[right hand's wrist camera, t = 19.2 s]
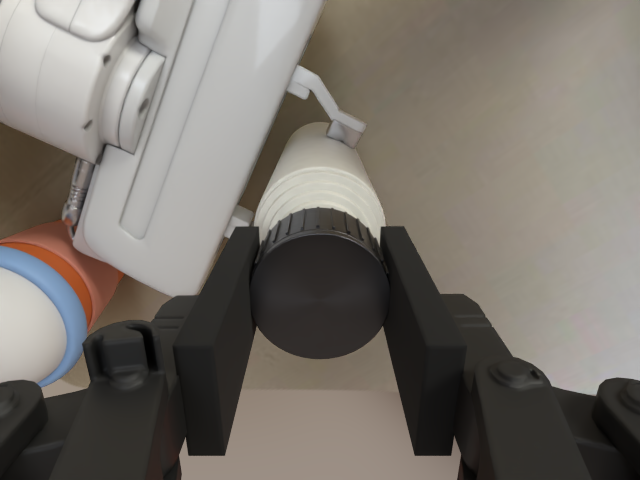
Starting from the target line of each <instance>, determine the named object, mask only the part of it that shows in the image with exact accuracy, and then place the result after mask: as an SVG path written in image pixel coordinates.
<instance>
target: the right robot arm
mask: <svg viewBox="0 0 640 480" xmlns="http://www.w3.org/2000/svg"><path fill="white" fill-rule="evenodd" d="M259 248H260V237H259V226H236V227H235V229H234V231H233V233H232V234H231V236H230V238H229V240H228V242H227V244H226V246H225V248H224V249H223V251H222V253H221V255H220V257H219V259H218V261H217V263H216V264H215V266H214V268H213V270H212V272H211V274H210V276H209V278H208V279H207V281H206V283H205V285H204V287H203V289H202V291H201V293H200V294H199V295H177V296H175V297H174V298H172V299H171V300H169V301H168V302H166V303H165V304H163V305H162V306H161V308H160V309H159V311H158V312H157V314H156V315H155V319H153V320H152V321H151V322H147V321H143V320H128V321H122V322H117V323H113V324H110V325H108V326H105V327H103V328H100V329H99V330H97V331H95V332H94V333H92V334H91V335H89V336H88V337H87V338H86V340H85V341H84V342H83V343H82V347H83V351H84V355H85V359H86V363H87V368H88V372H89V376H90V380H91V382H90V384H89V387H88V388H87V389H83V390H80V391H76V392H72V393H67V394H63V395H58V396H53V397H48V398H44V397H43V393H42V390H41V387H40V386H39V385H38V384H36V383H35V382H33V381H28V380H13V381H6V382H2V383H0V480H181V475H182V473H181V466H180V460H179V453H180V451H181V448H182V445H183V442H184V440H185V437H186V442H187V448H188V455H189V456H224V455H225V453H226V449H227V445H228V441H229V437H230V432H231V428H232V424H233V420H234V416H235V412H236V408H237V404H238V400H239V396H240V392H241V388H242V384H243V379H244V375H245V371H246V367H247V363H248V359H249V355H250V351H251V347H252V343H253V339H254V335H255V330H256V326H257V325H256V323H255V321H254V319H253V317H252V314H251V307H250V292H249V285H250V281H251V275H252V272H253V269H254V266H255V265H254V262H255V260H256V257H257V254H258V251H259ZM380 249H381V252H382V255H383V258H384V260H385V263H386V266H387V269H388V272H389V273H388V275H387V276H388V279H389V282H390V301H389V313H388V316H387V318H386V320H385V323H384V324H383V328H384V332H385V336H386V340H387V344H388V348H389V352H390V356H391V360H392V365H393V369H394V373H395V377H396V381H397V385H398V389H399V393H400V397H401V401H402V405H403V409H404V413H405V418H406V422H407V426H408V430H409V434H410V438H411V442H412V446H413V450H414V454H415V456H451V453H452V446H453V439H454V436H455V438H456V441H457V444H458V447H459V449H460V452H461V459H460V466H459V472H458V478H457V480H640V381H639V380H634V379H627V378H612V379H607V380H605V381H604V382H602V383H601V384H600V385H599V388H598V391H597V395H596V396H591V395H586V394H582V393H577V392H572V391H567V390H563V389H559V388H556V387H552V386H551V384H550V381H549V380H548V378H547V377H546V376H545V374H544V373H543V372H542V371H541V370H539V369H538V368H537V367H535V366H534V365H533V364H531V363H528V362H526V361H524V360H522V359H519V358H515V357H513V356H512V354H511V353H510V351H509V350H508V349H507V347H506V346H505V344H504V343H503V341H502V340H501V338H500V337H499V335H498V334H497V332H496V331H495V329H494V328H493V327H492V325H491V323H490V322H489V320H488V319H487V318H485V314H484V313H483V311H482V310H481V308H480V307H479V305H478V304H477V303H476V302H474V301H473V300H471V299H470V298H468V297H467V296H465V295H464V294H440V293H439V291H438V290H437V288H436V286H435V284H434V282H433V280H432V278H431V276H430V275H429V273H428V271H427V269H426V267H425V265H424V263H423V261H422V260H421V258H420V256H419V254H418V252H417V250H416V248H415V246H414V244H413V243H412V241H411V239H410V237H409V235H408V233H407V231H406V229H405V228H404V226H381V230H380Z"/></svg>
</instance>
